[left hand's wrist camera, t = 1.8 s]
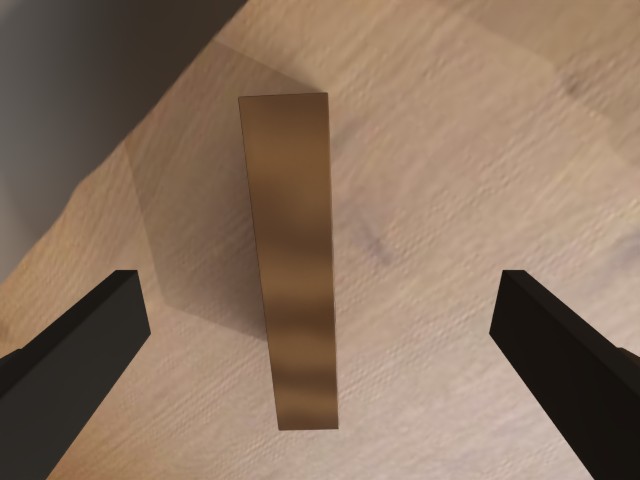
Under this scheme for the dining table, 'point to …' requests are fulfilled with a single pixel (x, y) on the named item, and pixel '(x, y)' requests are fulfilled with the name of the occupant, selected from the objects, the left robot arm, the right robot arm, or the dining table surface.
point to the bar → (295, 251)
